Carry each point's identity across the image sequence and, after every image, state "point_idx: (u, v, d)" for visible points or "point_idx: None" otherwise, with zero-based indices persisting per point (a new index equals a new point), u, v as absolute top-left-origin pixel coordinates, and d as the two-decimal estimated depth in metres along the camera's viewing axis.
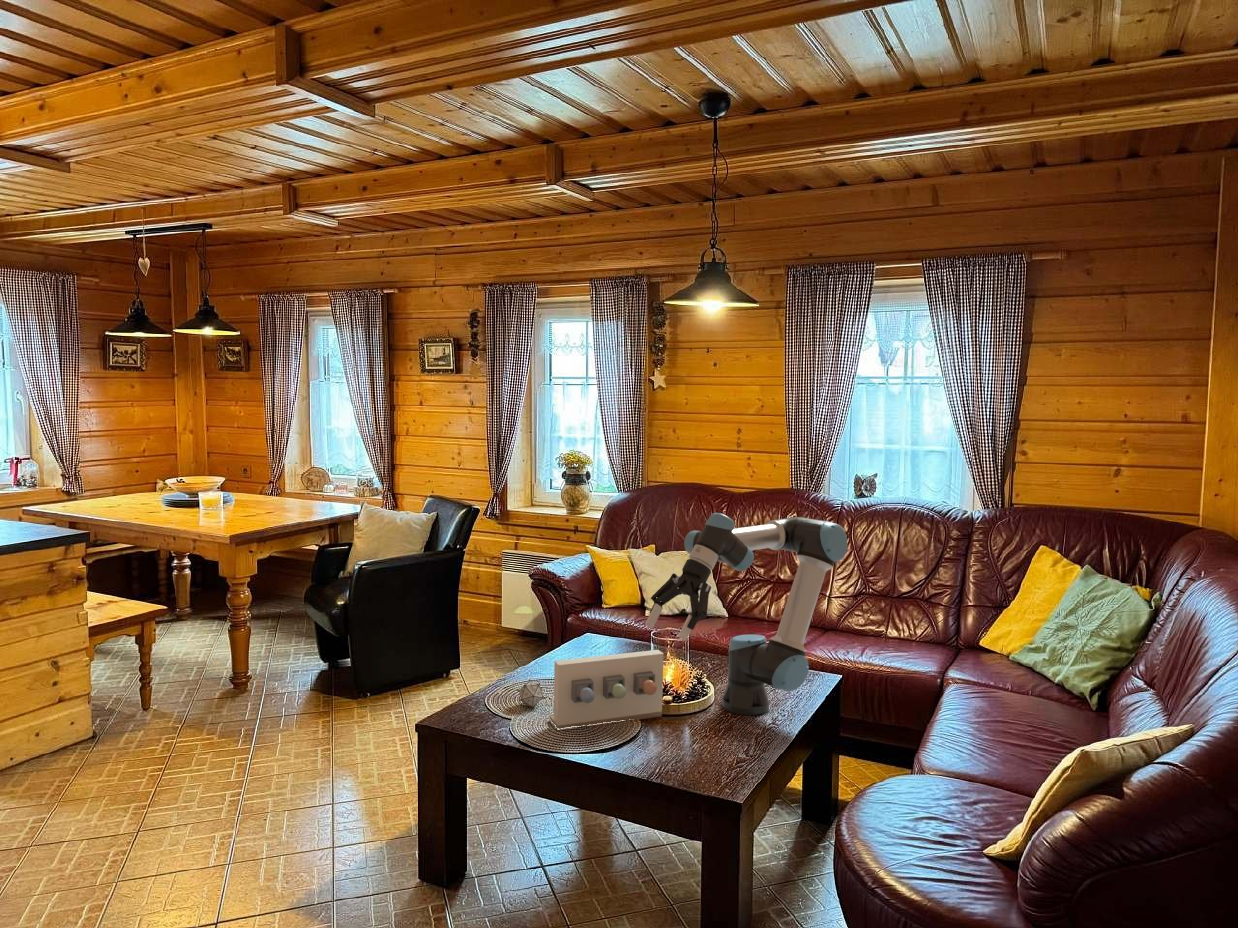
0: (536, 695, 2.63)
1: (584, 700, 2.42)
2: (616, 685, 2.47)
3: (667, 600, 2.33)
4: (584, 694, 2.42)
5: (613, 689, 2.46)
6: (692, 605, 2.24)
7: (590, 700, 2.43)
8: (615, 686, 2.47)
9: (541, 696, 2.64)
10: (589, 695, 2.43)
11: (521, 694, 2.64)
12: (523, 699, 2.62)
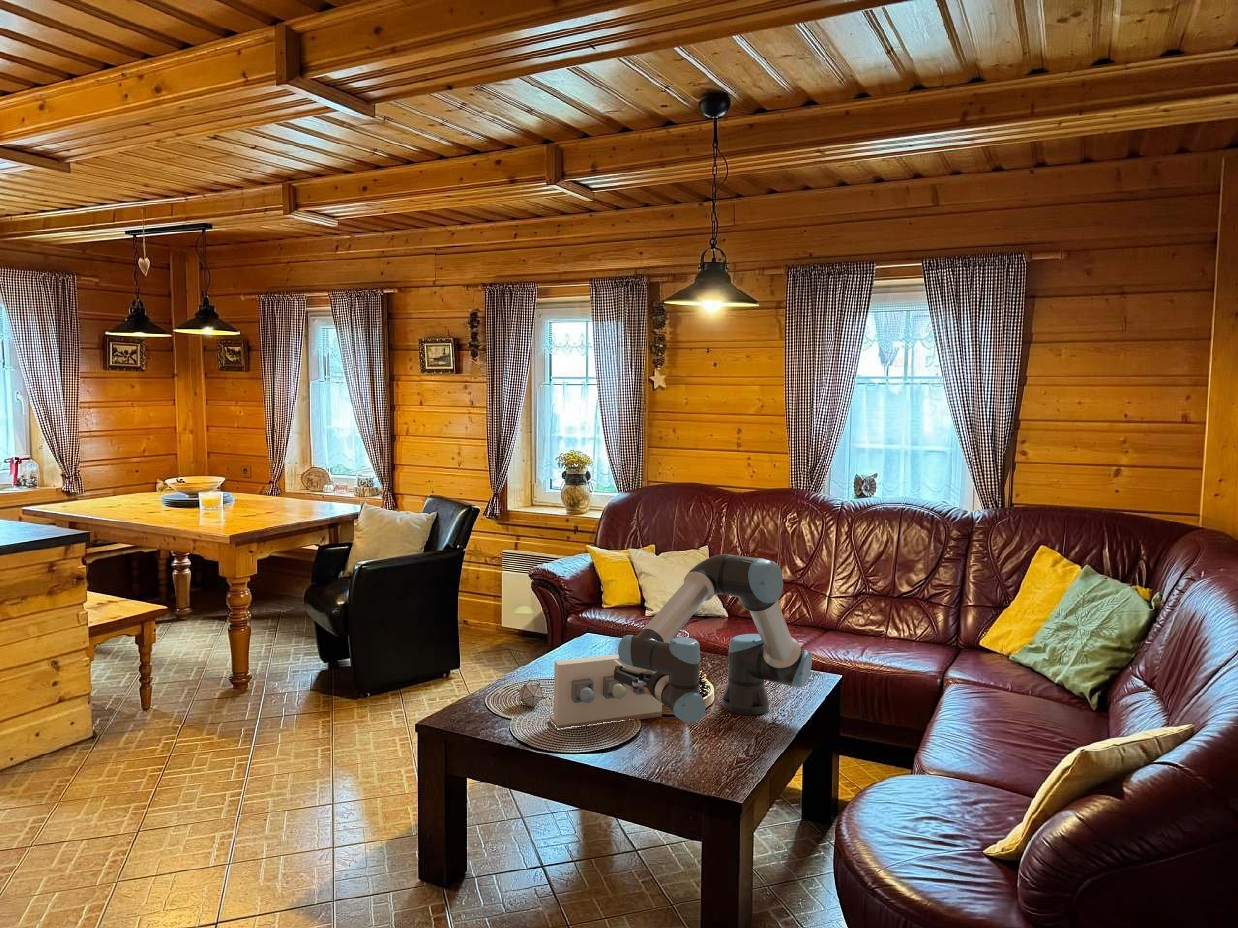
0: (536, 695, 2.63)
1: (584, 700, 2.42)
2: (616, 685, 2.47)
3: None
4: (584, 694, 2.42)
5: (613, 689, 2.46)
6: None
7: (590, 700, 2.43)
8: (615, 686, 2.47)
9: (541, 696, 2.64)
10: (589, 695, 2.43)
11: (521, 694, 2.64)
12: (523, 699, 2.62)
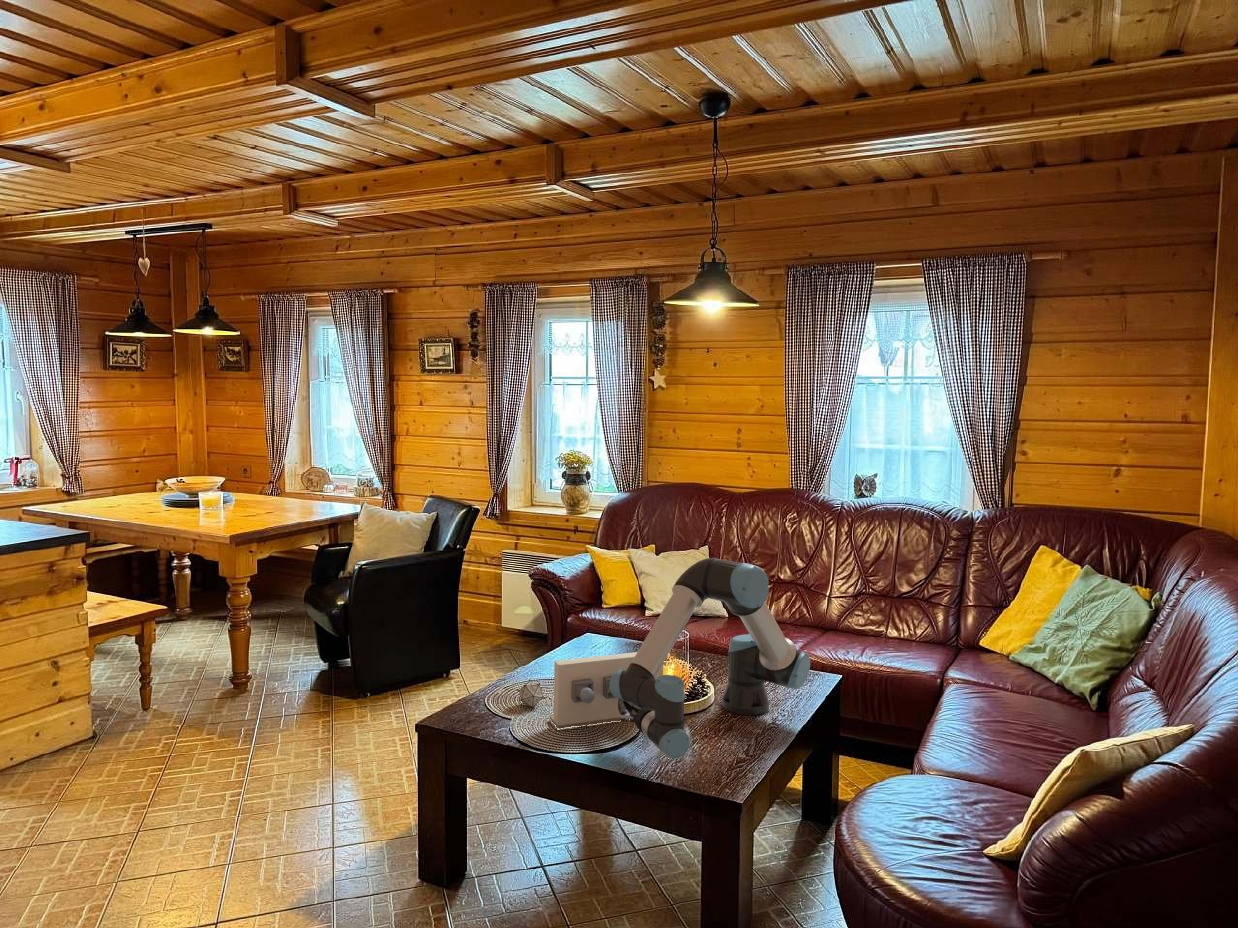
0: (536, 695, 2.63)
1: (584, 700, 2.42)
2: None
3: None
4: (584, 694, 2.42)
5: None
6: None
7: (590, 700, 2.43)
8: None
9: (541, 696, 2.64)
10: (589, 695, 2.43)
11: (521, 694, 2.64)
12: (523, 699, 2.62)
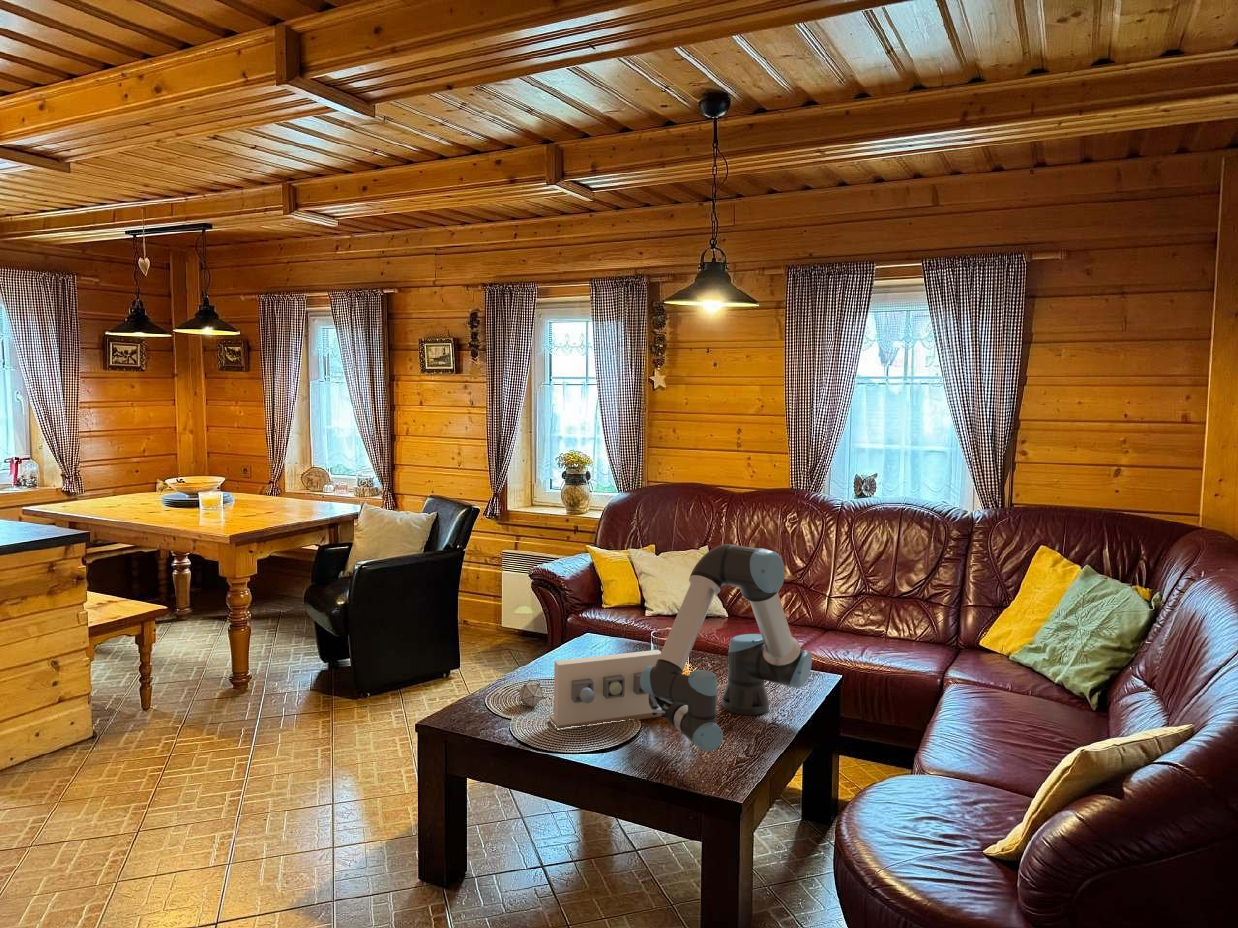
0: (536, 695, 2.63)
1: (584, 700, 2.42)
2: (612, 681, 2.50)
3: None
4: (584, 694, 2.42)
5: (609, 685, 2.49)
6: None
7: (590, 700, 2.43)
8: (611, 682, 2.50)
9: (541, 696, 2.64)
10: (589, 695, 2.43)
11: (521, 694, 2.64)
12: (523, 699, 2.62)
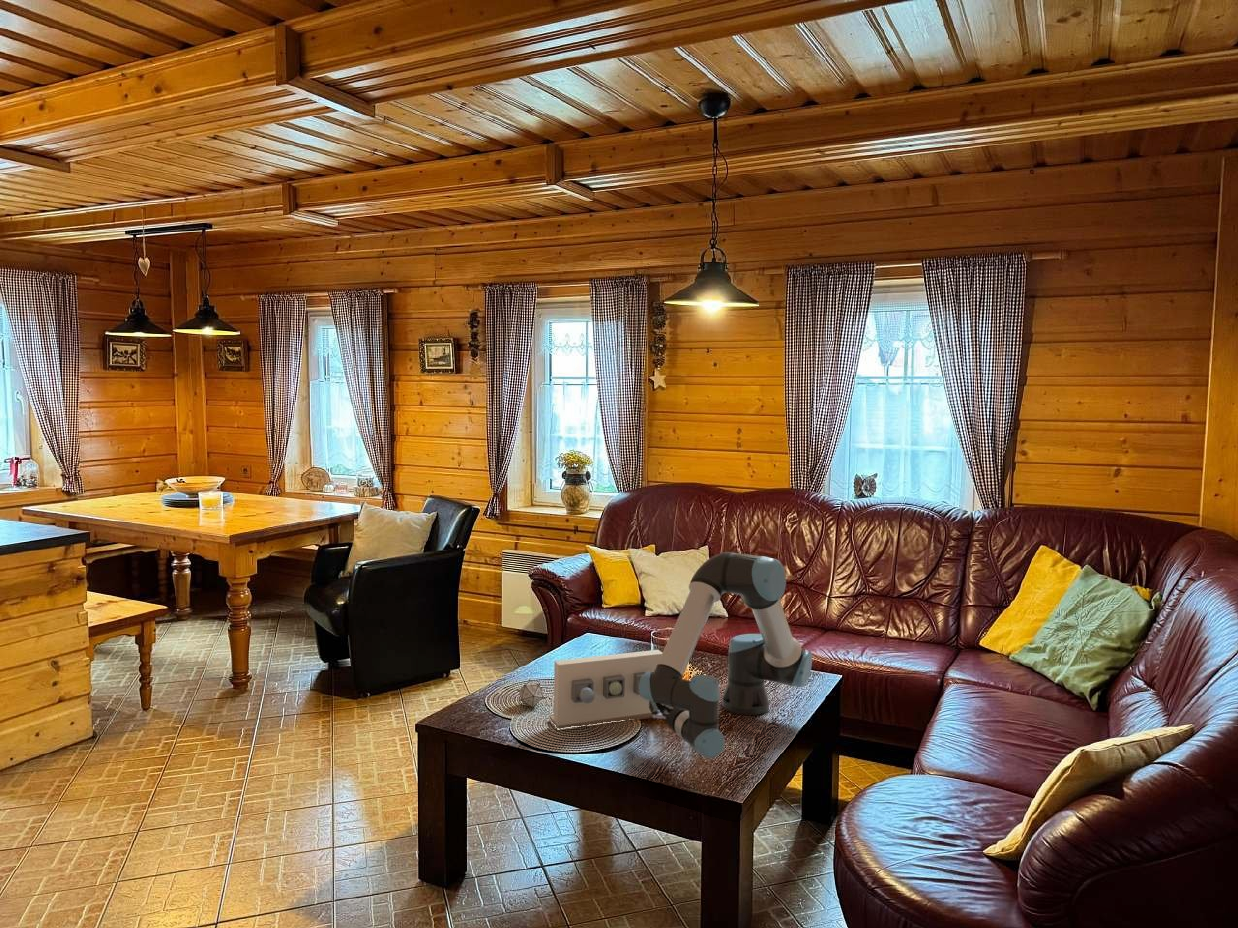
0: (536, 695, 2.63)
1: (584, 700, 2.42)
2: (612, 681, 2.50)
3: None
4: (584, 694, 2.42)
5: (609, 685, 2.49)
6: None
7: (590, 700, 2.43)
8: (611, 682, 2.50)
9: (541, 696, 2.64)
10: (589, 695, 2.43)
11: (521, 694, 2.64)
12: (523, 699, 2.62)
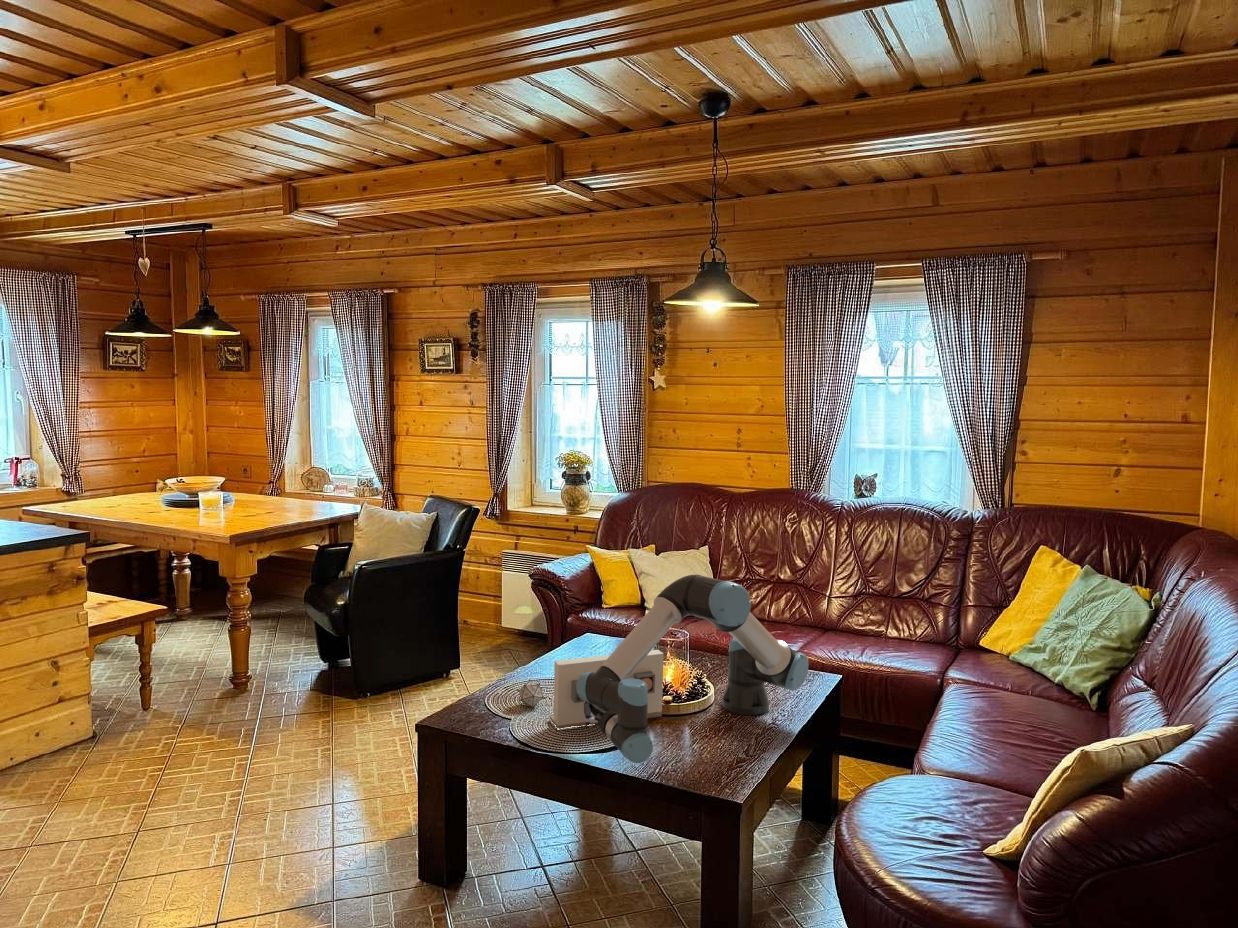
0: (536, 695, 2.63)
1: (583, 699, 2.43)
2: None
3: None
4: None
5: None
6: None
7: None
8: None
9: (541, 696, 2.64)
10: None
11: (521, 694, 2.64)
12: (523, 699, 2.62)
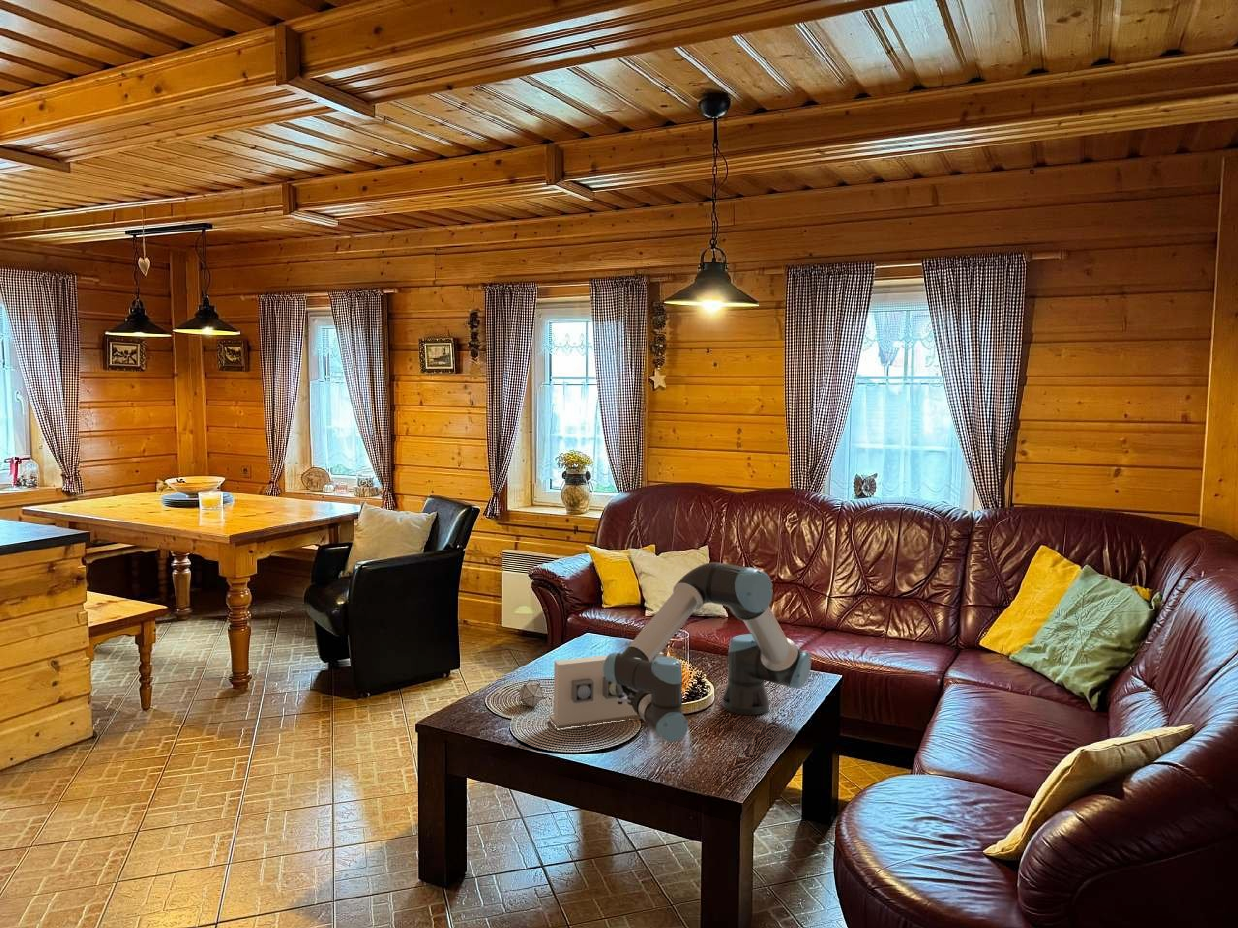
0: (536, 695, 2.63)
1: (580, 696, 2.45)
2: None
3: None
4: (580, 690, 2.45)
5: (609, 685, 2.49)
6: None
7: (586, 696, 2.46)
8: (611, 682, 2.50)
9: (541, 696, 2.64)
10: (585, 691, 2.46)
11: (521, 694, 2.64)
12: (523, 699, 2.62)
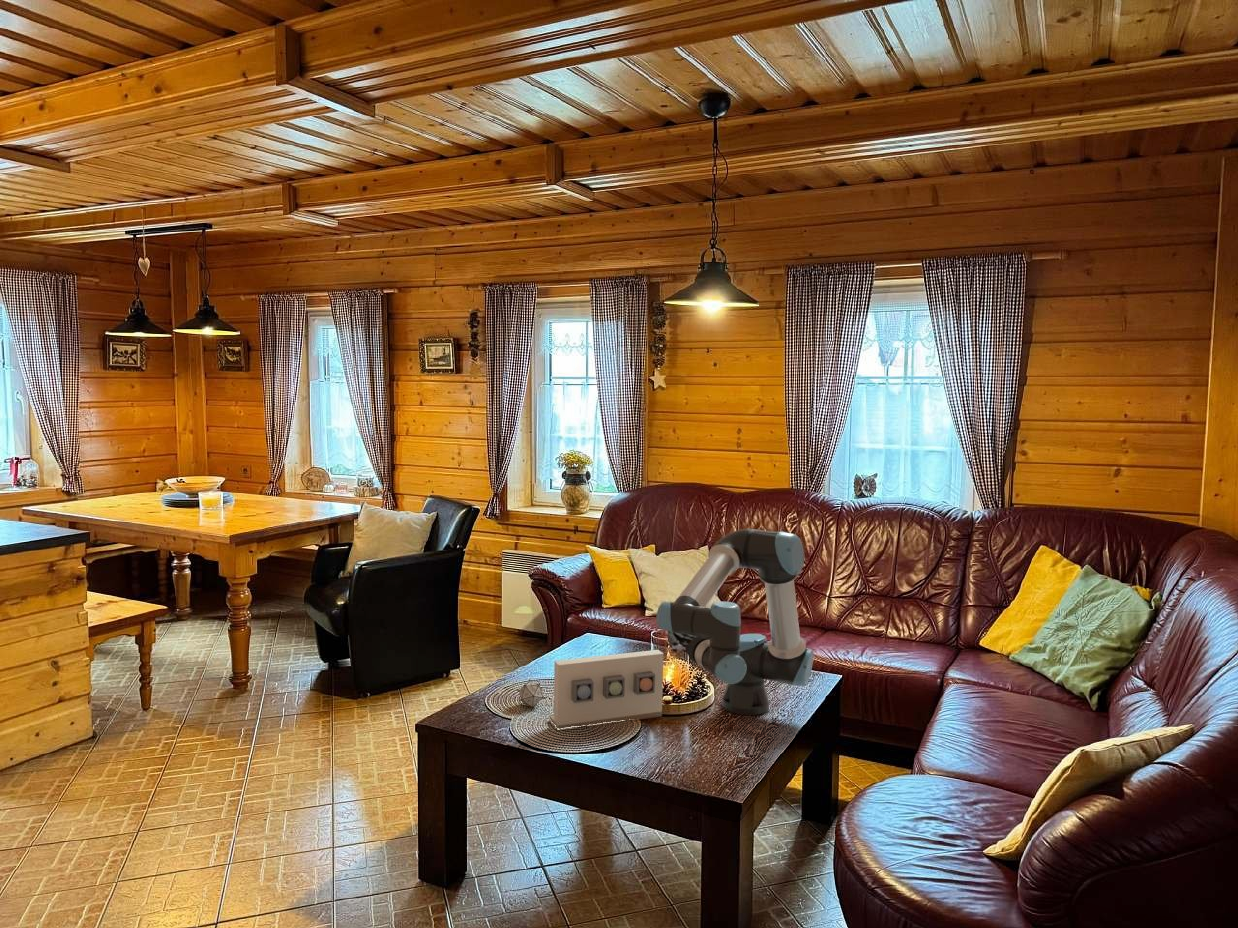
0: (536, 695, 2.63)
1: (580, 696, 2.45)
2: (612, 681, 2.50)
3: None
4: (580, 690, 2.45)
5: (609, 685, 2.49)
6: None
7: (586, 696, 2.46)
8: (611, 682, 2.50)
9: (541, 696, 2.64)
10: (585, 691, 2.46)
11: (521, 694, 2.64)
12: (523, 699, 2.62)
